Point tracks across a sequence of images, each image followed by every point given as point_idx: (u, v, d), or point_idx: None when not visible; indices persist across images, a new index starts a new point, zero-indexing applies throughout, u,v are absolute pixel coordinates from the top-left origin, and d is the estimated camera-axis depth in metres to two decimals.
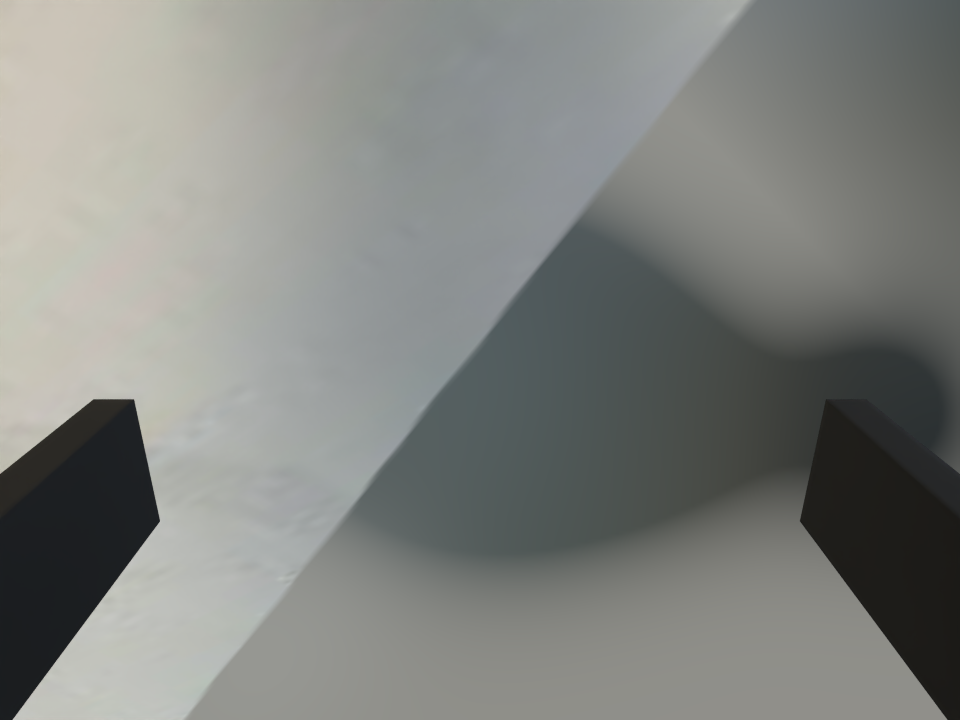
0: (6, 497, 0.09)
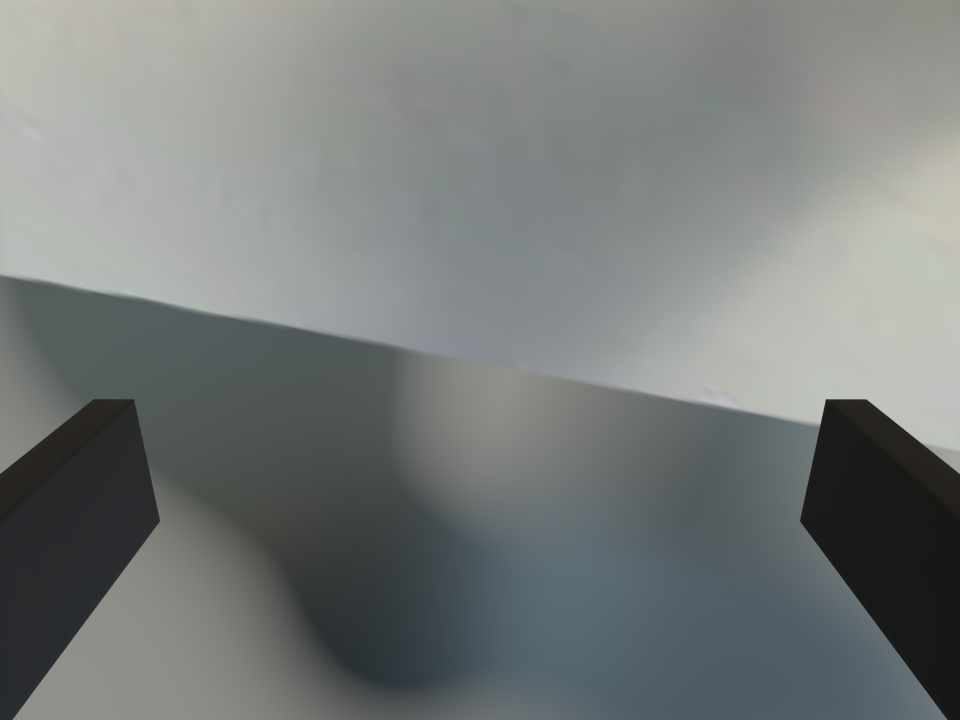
0: (6, 497, 0.09)
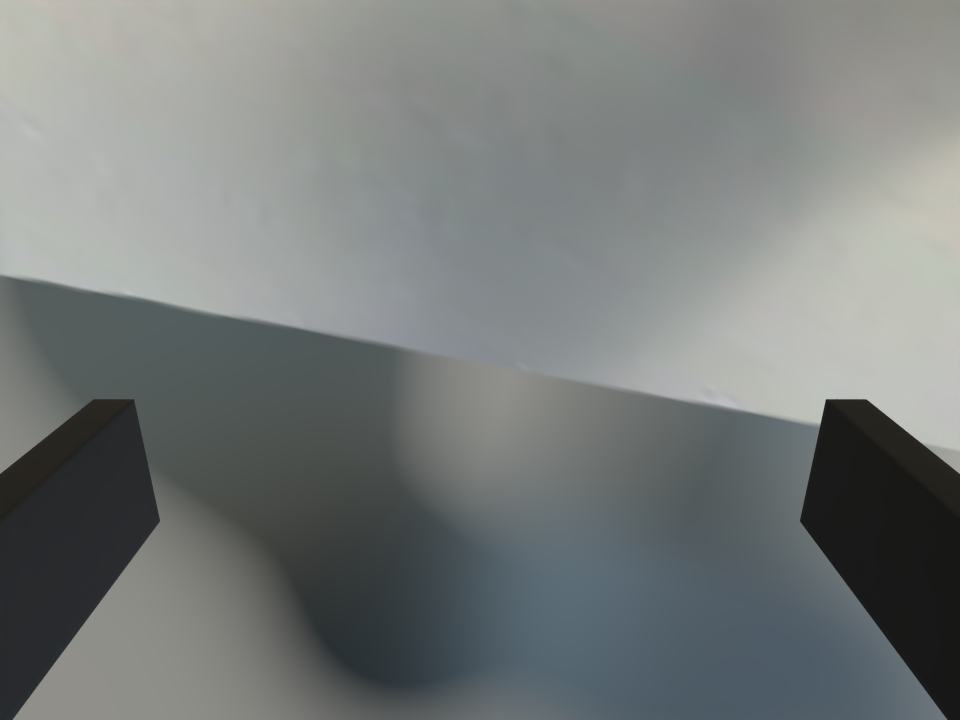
0: (6, 497, 0.09)
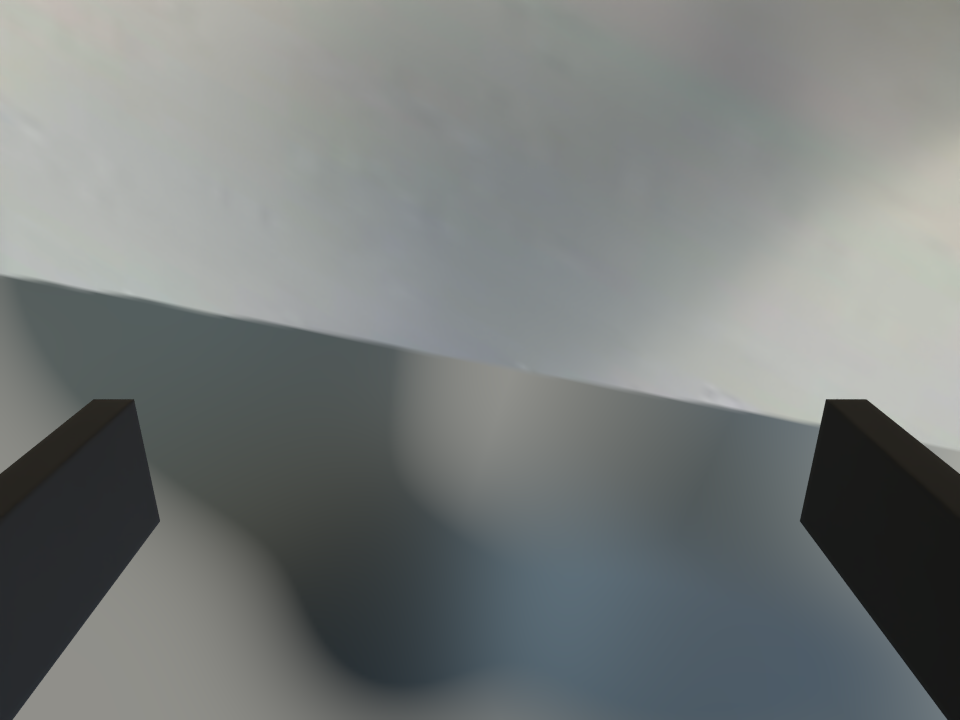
0: (6, 497, 0.09)
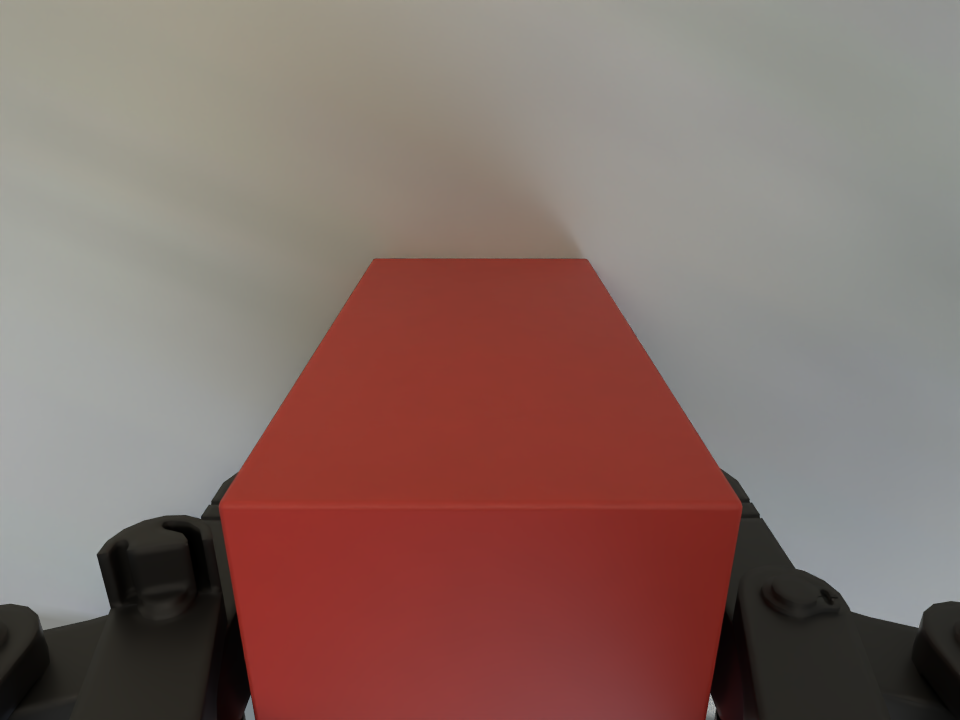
0: None
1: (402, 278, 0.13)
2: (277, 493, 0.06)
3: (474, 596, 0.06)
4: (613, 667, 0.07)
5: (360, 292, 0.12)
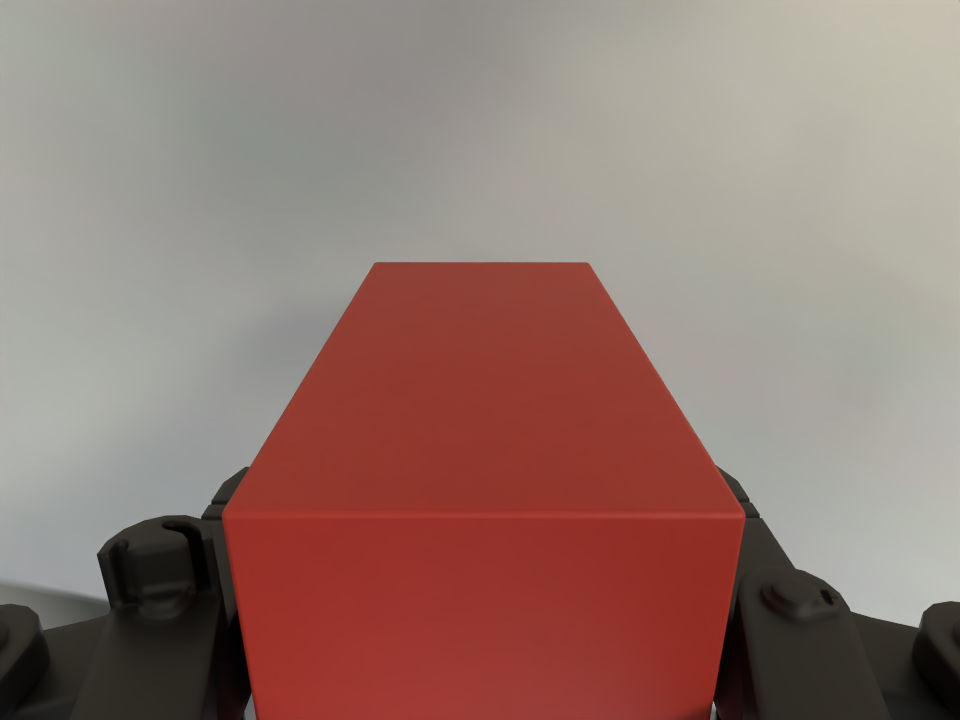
0: None
1: (403, 283, 0.13)
2: (281, 501, 0.06)
3: (477, 604, 0.06)
4: (616, 676, 0.07)
5: (362, 297, 0.12)
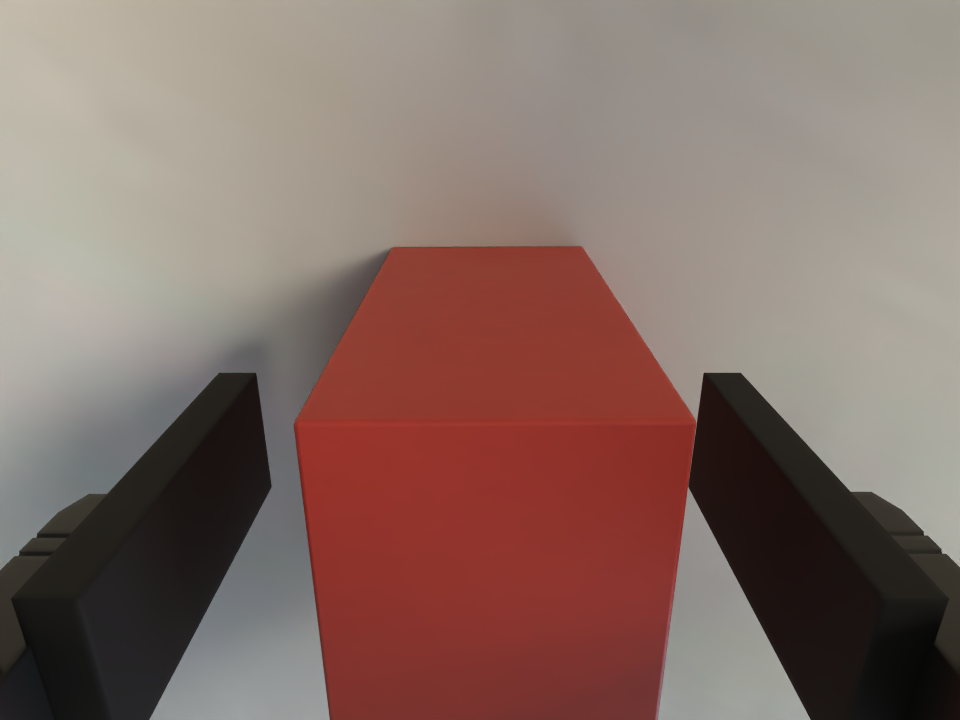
0: (177, 452, 0.11)
1: (419, 264, 0.15)
2: (338, 414, 0.08)
3: (490, 496, 0.08)
4: (598, 555, 0.08)
5: (384, 274, 0.14)
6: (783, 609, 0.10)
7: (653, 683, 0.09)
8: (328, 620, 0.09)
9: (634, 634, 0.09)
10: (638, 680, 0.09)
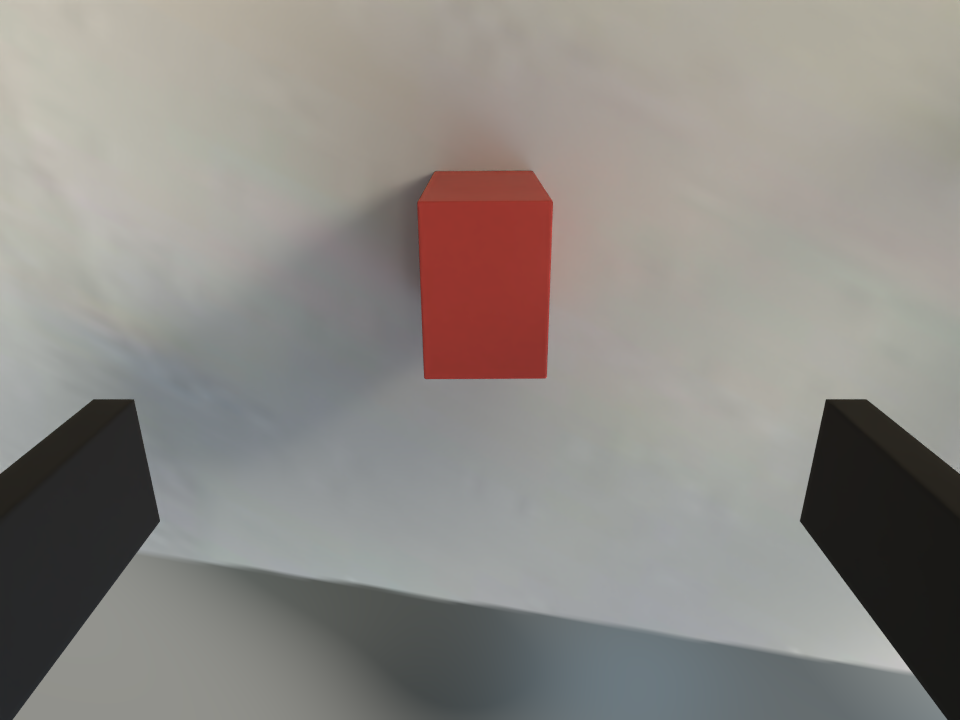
0: (6, 497, 0.09)
1: (450, 175, 0.30)
2: (432, 200, 0.23)
3: (483, 230, 0.23)
4: (521, 255, 0.24)
5: (434, 178, 0.29)
6: None
7: (544, 312, 0.24)
8: (424, 283, 0.24)
9: (536, 289, 0.24)
10: (539, 311, 0.24)
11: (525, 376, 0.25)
